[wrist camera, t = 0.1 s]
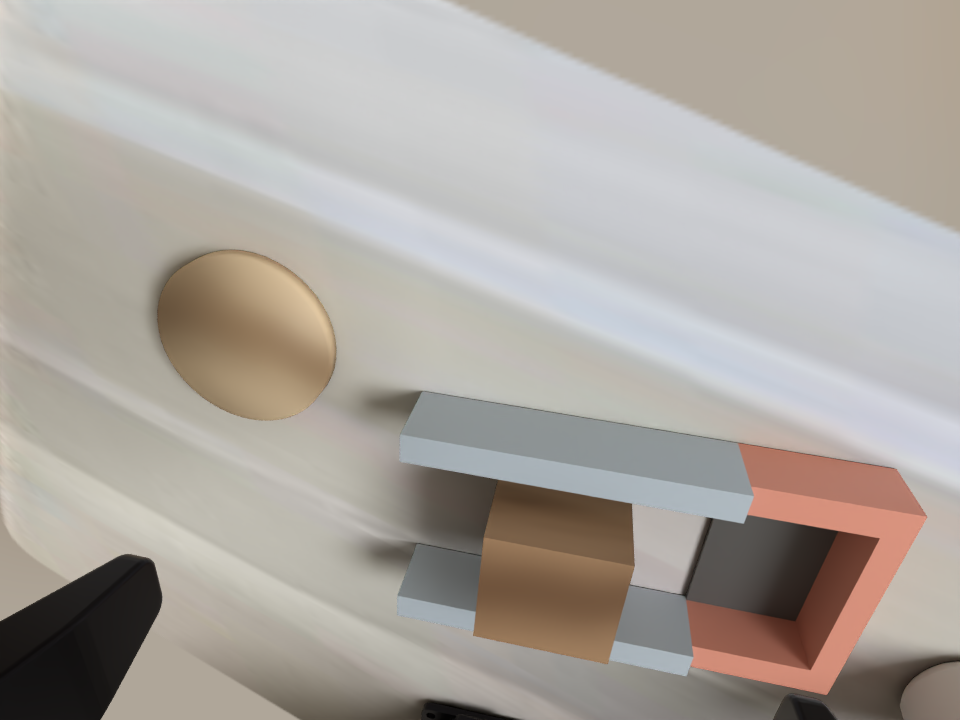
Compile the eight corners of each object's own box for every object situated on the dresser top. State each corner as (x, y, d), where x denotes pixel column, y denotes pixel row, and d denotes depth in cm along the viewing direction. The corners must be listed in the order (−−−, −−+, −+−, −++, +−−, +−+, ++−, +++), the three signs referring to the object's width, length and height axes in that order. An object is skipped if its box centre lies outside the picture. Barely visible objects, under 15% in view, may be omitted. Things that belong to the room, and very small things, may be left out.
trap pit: (809, 641, 27) (826, 694, 25) (679, 614, 27) (684, 665, 25) (896, 469, 22) (927, 516, 20) (737, 443, 23) (751, 486, 21)
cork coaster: (339, 422, 26) (331, 433, 25) (184, 395, 27) (173, 405, 26) (332, 263, 23) (323, 270, 22) (155, 238, 23) (142, 245, 23)
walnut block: (608, 561, 27) (607, 664, 23) (494, 539, 28) (473, 635, 23) (630, 470, 25) (634, 566, 20) (505, 449, 25) (483, 537, 21)
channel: (679, 614, 27) (686, 676, 25) (416, 562, 29) (397, 615, 26) (737, 443, 23) (754, 496, 20) (422, 391, 24) (400, 434, 22)
